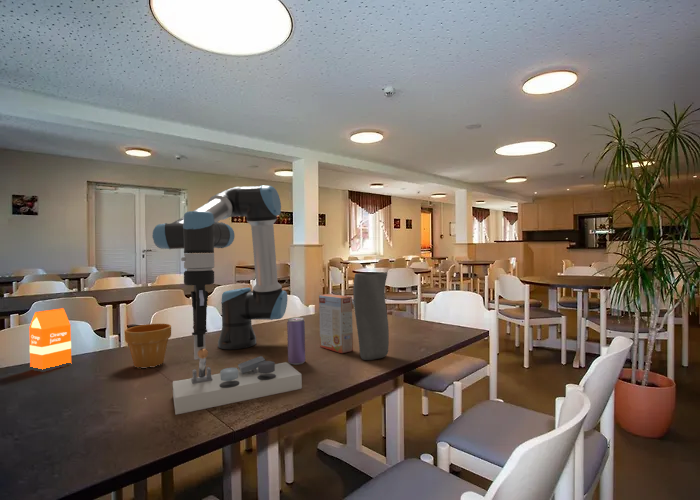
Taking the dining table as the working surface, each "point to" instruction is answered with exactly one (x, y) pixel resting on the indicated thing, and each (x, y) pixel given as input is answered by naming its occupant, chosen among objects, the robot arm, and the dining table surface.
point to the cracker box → (336, 322)
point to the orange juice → (50, 339)
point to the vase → (371, 314)
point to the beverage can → (296, 341)
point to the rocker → (250, 364)
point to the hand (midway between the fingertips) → (199, 358)
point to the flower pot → (148, 343)
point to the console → (232, 387)
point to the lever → (202, 361)
